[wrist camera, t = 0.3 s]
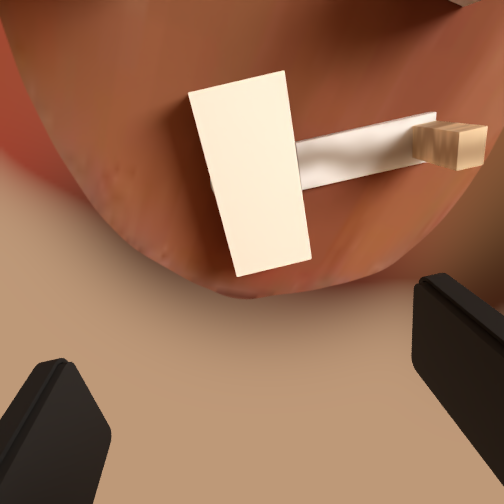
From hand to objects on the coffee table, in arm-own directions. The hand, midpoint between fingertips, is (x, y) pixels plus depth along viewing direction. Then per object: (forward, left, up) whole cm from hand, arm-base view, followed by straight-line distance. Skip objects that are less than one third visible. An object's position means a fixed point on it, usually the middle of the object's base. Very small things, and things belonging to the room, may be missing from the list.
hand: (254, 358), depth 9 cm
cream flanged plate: (+4, +3, -36) cm, 36 cm away
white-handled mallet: (+4, +18, -36) cm, 41 cm away
